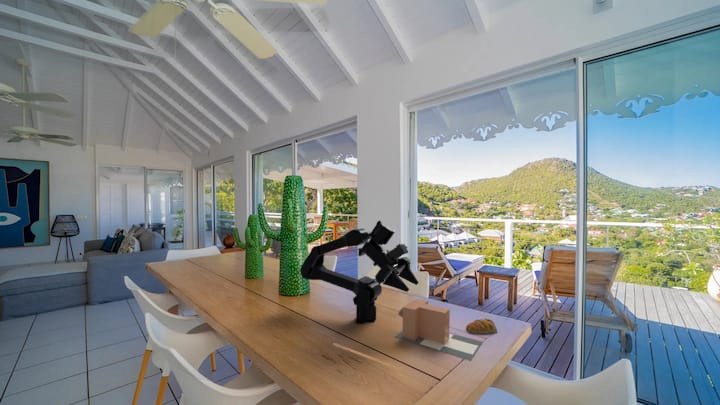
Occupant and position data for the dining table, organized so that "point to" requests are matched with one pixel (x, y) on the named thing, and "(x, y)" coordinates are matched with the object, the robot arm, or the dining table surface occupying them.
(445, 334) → the tee
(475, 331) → the pastry
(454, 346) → the board
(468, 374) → the dining table surface
